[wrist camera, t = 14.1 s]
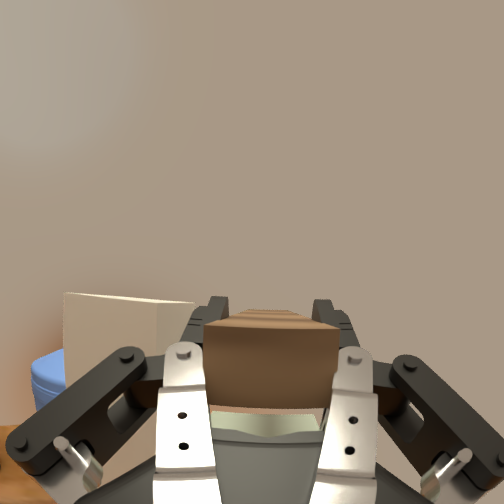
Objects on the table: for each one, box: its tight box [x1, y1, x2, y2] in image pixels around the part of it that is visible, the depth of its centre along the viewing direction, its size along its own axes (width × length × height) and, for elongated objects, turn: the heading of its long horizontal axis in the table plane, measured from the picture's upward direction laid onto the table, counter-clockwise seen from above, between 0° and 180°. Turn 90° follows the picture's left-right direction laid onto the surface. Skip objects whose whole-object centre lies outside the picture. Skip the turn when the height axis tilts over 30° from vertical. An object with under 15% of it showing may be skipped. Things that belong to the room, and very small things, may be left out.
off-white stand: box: [63, 292, 195, 488], centre depth 20 cm, size 10×8×32 cm
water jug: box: [31, 349, 66, 411], centre depth 32 cm, size 16×16×28 cm
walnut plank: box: [202, 309, 340, 409], centre depth 19 cm, size 22×4×2 cm, turn 177°
